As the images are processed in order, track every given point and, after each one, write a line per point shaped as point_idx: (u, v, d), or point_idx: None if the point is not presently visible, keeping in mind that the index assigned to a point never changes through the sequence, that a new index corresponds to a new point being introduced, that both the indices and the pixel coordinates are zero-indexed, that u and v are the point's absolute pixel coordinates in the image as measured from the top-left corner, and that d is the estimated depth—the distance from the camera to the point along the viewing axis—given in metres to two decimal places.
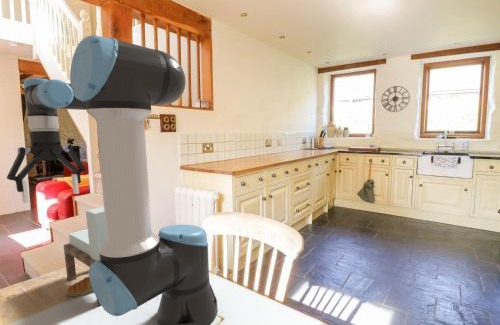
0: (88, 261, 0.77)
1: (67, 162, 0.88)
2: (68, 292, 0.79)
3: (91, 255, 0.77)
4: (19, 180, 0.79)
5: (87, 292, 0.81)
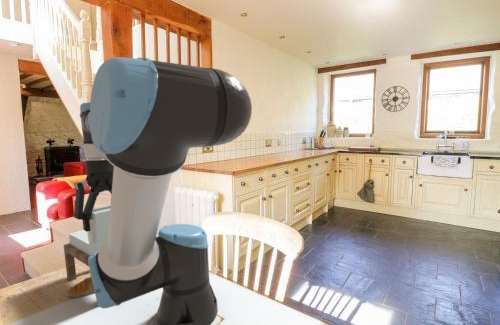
0: None
1: None
2: (69, 293, 0.79)
3: None
4: (87, 219, 0.73)
5: (89, 293, 0.81)
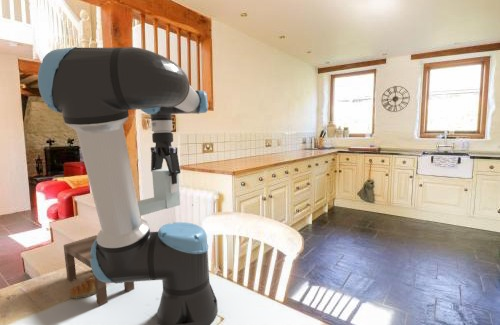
0: (88, 261, 0.77)
1: None
2: (72, 294, 0.78)
3: (168, 205, 1.01)
4: None
5: (91, 293, 0.80)
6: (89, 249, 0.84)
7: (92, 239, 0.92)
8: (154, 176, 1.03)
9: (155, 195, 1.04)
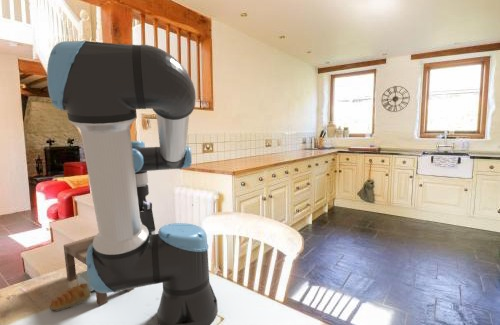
0: None
1: None
2: (54, 306, 0.73)
3: None
4: None
5: (75, 303, 0.75)
6: None
7: (92, 239, 0.92)
8: None
9: None
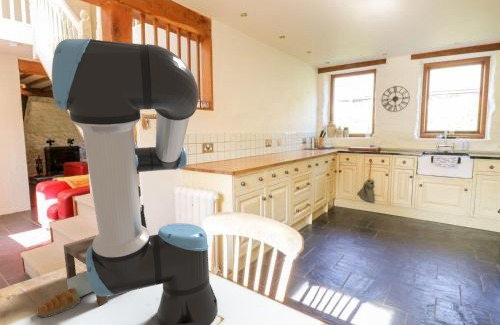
0: None
1: None
2: (41, 312, 0.70)
3: None
4: None
5: (63, 309, 0.73)
6: None
7: (92, 239, 0.92)
8: None
9: None
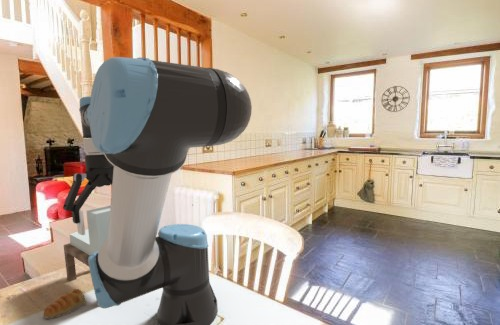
0: None
1: None
2: (48, 314, 0.70)
3: None
4: (76, 210, 0.71)
5: (71, 309, 0.73)
6: None
7: None
8: None
9: None
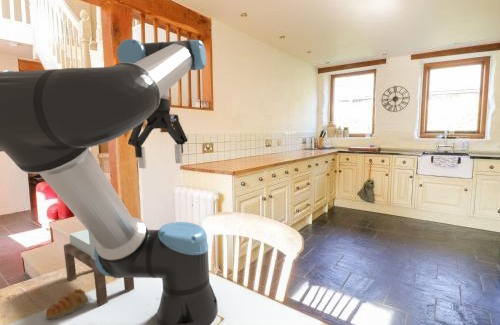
0: (88, 261, 0.77)
1: (174, 131, 0.89)
2: (51, 314, 0.70)
3: (92, 255, 0.77)
4: (139, 145, 0.80)
5: (73, 309, 0.73)
6: None
7: None
8: None
9: None
